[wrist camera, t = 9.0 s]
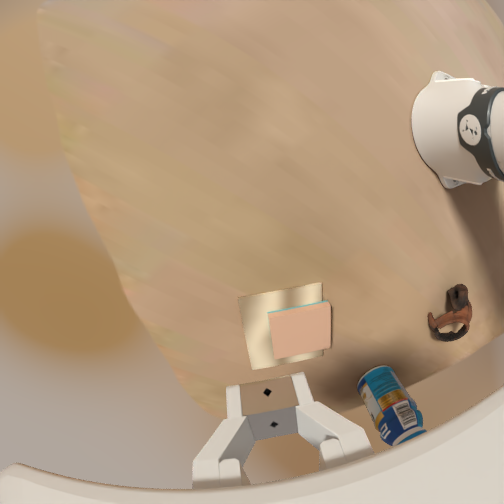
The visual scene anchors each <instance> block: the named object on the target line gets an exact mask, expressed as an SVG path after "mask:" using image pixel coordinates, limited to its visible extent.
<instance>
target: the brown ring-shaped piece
mask: <svg viewBox="0 0 504 504" xmlns="http://www.w3.org/2000/svg"><path fill="white" fill-rule="evenodd" d="M448 294H449V296H450V299H451V305H452V306H453V308H454V310H457V312H455V313H453V311H450V312H448V313H446V314H444V315H443V316H441V317H439V318H437V319H436V320H435V319H434V318H433V315H432V313H431V312H430V313H429V314H428V321H429V326H430V328H431V329H432V331H433V332H434V333H435V336H436V338H437V339H438V340H441V341H447V342H448V341H454V340H457V339H459V338H461V337H463V336H464V335H465V334H466V333H467V332H468V330H469V322H470V320H471V317H472V306H471V304H470V302H469V300H468V289H467V287H466V286H465V285H463V284H457V285H456V286H455V287H454V288H451V289H449V290H448ZM454 322H460V323H463V324H464V325H463V326H462V328H461V329H460V330H459V331H458V332H457V333H453V332H452V331H450V332H449V333H440V332H439V330H438V328H440V329H441V328H443V327H444V326H446V325H448V324H450V323H454ZM437 327H438V328H437Z"/></svg>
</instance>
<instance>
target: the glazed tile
mask: <svg viewBox="0 0 504 504" xmlns="http://www.w3.org/2000/svg"><path fill="white" fill-rule="evenodd" d="M267 314H268V321H269V328H270V335H271V342H272V349H273V355H274V359H280V358H285V357H290V356H295V355H299V354H304V353H309V352H313V351H317V350H322V349H326V348H330V344H331V306H330V304H329V302H328V301H327V300H326V301H321V302H316V303H312V304H307V305H302V306H297V307H292V308H287V309H281V310H276V311H271V312H267Z"/></svg>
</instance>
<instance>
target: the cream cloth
mask: <svg viewBox="0 0 504 504" xmlns="http://www.w3.org/2000/svg"><path fill="white" fill-rule="evenodd" d="M321 301H322V283H321V282H319V283H314V284H309V285H304V286H299V287H294V288H288V289H283V290H278V291H272V292H267V293H261V294H255V295H249V296H244V297H238V303H239V308H240V313H241V318H242V323H243V328H244V333H245V338H246V343H247V348H248V353H249V357H250V362H251V367H252V370H255V369H261V368H267V367H272V366H277V365H283V364H288V363H293V362H297V361H302V360H306V359H311V358H315V357H320V356H323V349H322V350H317V351H313V352H309V353H304V354H299V355H295V356H290V357H285V358H280V359H274V355H273V349H272V342H271V335H270V328H269V321H268V314H267V312H271V311H276V310H281V309H287V308H292V307H297V306H302V305H307V304H312V303H316V302H321Z"/></svg>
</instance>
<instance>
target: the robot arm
mask: <svg viewBox="0 0 504 504" xmlns="http://www.w3.org/2000/svg"><path fill="white" fill-rule="evenodd" d="M412 132H413V137H414V141H415V144H416V146H417V149H418V151H419V153H420V155H421V157H422V158H423V160H424V161H425V162H426V164H427V165H428V166H429V167H430V168H432V169H433V170H434V171H435V172H436V173H437V174H438V176H439V179H440V181H441V183H442V184H443V186H444V187H445V188H449V189H451V188H454V187H457V186H459V185H462V184H464V183H472V184H476V185H482V183H483V182H487V181H488V180H490V179H492V178H495V179H497V180H499V181H503V182H504V88H501V87H490V86H487V85H481V82H480V81H476V80H474V79H472V78H463V79H456V78H454V77H452V76H450V75H448V74H446V73H444V72H442V71H435V72H434V73H433V75H432V77H431V80H430V83H429V84H428V85H427V86H426V87H425V88H424V89H423V90H422V91H421V92H420V93H419V94H418V96H417V98H416V100H415V102H414V106H413V110H412ZM226 397H227V416H228V419H224V420H223V421H222V423H221V424H220V425H219V427H218V428H217V429H216V431H215V432H214V434H213V435H212V436H211V438H210V439H209V440H208V442H207V443H206V445H205V446H204V447H203V448H202V450H201V451H200V453H199V454H198V455H197V456H196V458H195V459H194V460H193V484H192V485H193V487H192V489H154V488H139V487H127V486H118V485H111V484H103V483H97V482H92V481H85V480H81V479H76V478H71V477H66V476H63V475H58V474H54V473H51V472H47V471H44V470H40V469H37V468H34V467H31V466H27V465H25V464H21V463H13V464H11V465H9V466H8V467H6V468H5V469H4V470H2V471H1V472H0V504H504V384H503V385H502V386H501V387H499V388H498V389H496V390H495V391H494V392H492V393H491V394H489V395H488V396H486V397H485V398H484V399H482V400H481V401H479V402H478V403H476V404H474V405H473V406H471V407H470V408H468V409H466V410H465V411H463V412H461V413H460V414H458V415H457V416H455V417H453V418H451V419H449V420H447V421H446V422H444V423H442V424H440V425H438V426H436V427H434V428H432V429H431V430H429V431H427V432H425V433H422V434H420V435H418V436H416V437H414V438H412V439H410V440H408V441H405V442H403V443H401V444H398V445H396V446H394V447H391V448H389V449H386V450H384V451H381V452H379V453H376V454H374V452H373V449H372V447H371V445H370V443H369V440H368V438H367V436H366V434H365V432H364V430H363V428H361V427H360V426H358V425H356V424H355V423H353V422H351V421H350V420H348V419H346V418H345V417H343V416H341V415H340V414H338V413H336V412H335V411H333V410H332V409H330V408H328V407H327V406H325V405H324V404H322V403H320V402H319V401H316V402H314V399H313V397H312V394H311V391H310V388H309V385H308V382H307V379H306V377H305V374H304V372H300V373H295V374H291V375H286V376H282V377H277V378H273V379H268V380H264V381H258V382H252V383H245V384H240V385H232V386H227V388H226ZM292 433H299V434H300V435H301V436H302V437H304V438H305V439H306V440H307V441H308V442H309V443H311V444H312V445H313V446H314V447H315V448H317V449H318V450H319V451H320V459H319V462H320V463H319V472H315V473H311V474H307V475H302V476H298V477H293V478H288V479H283V480H278V481H272V482H266V483H259V484H253V485H251V483H250V481H249V479H248V477H247V475H246V473H245V472H244V470H243V468H242V467H243V465H244V463H245V461H246V459H247V457H248V455H249V453H250V451H251V450H252V448H253V446H254V444H255V441H256V440H261V439H267V438H271V437H276V435H277V436H282V435H287V434H292Z"/></svg>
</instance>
